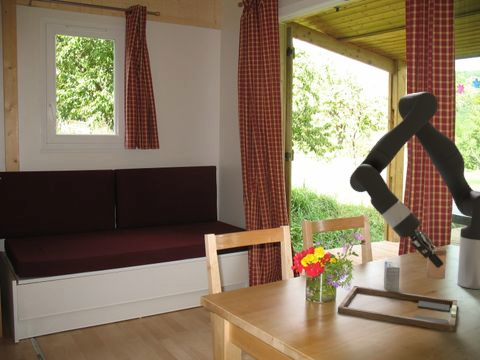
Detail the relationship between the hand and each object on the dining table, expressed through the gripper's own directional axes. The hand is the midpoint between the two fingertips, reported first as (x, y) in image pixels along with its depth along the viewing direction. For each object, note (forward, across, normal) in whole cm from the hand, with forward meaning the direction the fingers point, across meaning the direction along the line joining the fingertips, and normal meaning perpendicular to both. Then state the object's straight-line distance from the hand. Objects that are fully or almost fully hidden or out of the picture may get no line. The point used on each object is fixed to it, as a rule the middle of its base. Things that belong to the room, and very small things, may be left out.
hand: (441, 263), depth 149 cm
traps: (+10, 0, +12) cm, 16 cm away
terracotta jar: (+2, 0, +4) cm, 4 cm away
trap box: (+3, 0, +19) cm, 19 cm away
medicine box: (0, +19, +23) cm, 30 cm away
